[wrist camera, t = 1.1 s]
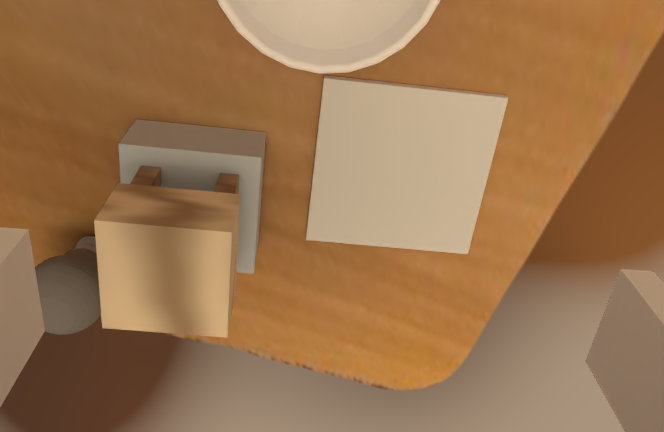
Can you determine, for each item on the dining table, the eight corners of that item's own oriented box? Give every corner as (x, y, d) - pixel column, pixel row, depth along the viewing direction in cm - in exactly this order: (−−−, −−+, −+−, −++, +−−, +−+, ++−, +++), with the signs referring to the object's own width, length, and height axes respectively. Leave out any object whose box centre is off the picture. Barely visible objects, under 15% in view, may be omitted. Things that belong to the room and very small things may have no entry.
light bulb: (103, 286, 56) (64, 364, 47) (44, 248, 53) (-9, 321, 45) (143, 244, 53) (109, 317, 45) (82, 202, 51) (35, 270, 43)
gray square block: (140, 230, 53) (124, 262, 48) (136, 119, 48) (118, 143, 44) (258, 240, 54) (253, 273, 49) (266, 132, 49) (261, 157, 44)
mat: (306, 235, 53) (305, 239, 53) (323, 75, 47) (324, 78, 46) (465, 249, 54) (467, 254, 54) (505, 94, 48) (508, 98, 47)
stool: (137, 253, 48) (102, 328, 40) (133, 158, 44) (94, 220, 36) (241, 261, 49) (226, 337, 41) (246, 169, 45) (231, 232, 37)
